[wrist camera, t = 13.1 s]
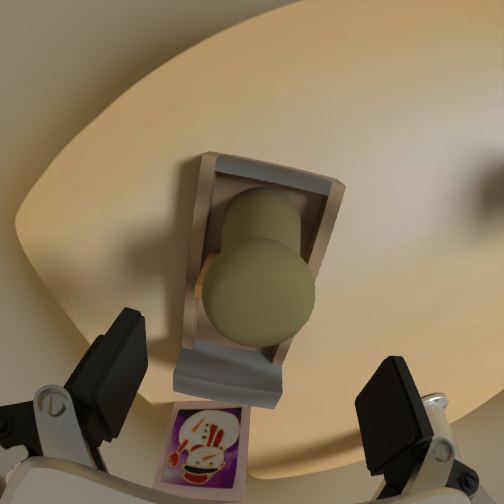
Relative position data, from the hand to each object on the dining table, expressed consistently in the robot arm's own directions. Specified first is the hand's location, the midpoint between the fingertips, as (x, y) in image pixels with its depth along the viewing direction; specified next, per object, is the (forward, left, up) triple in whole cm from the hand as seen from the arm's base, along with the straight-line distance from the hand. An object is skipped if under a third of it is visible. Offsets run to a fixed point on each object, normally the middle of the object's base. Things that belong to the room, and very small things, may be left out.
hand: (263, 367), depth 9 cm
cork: (+1, 0, -13) cm, 13 cm away
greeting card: (-28, 0, -14) cm, 32 cm away
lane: (-5, 0, -14) cm, 15 cm away
